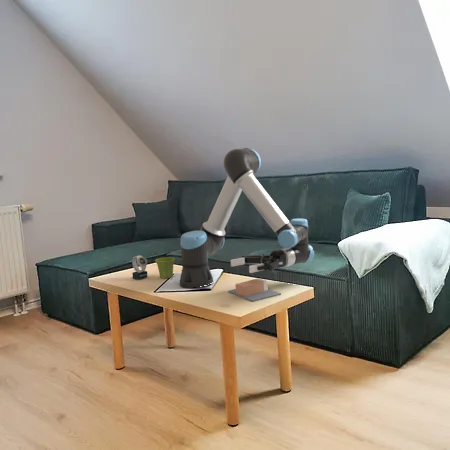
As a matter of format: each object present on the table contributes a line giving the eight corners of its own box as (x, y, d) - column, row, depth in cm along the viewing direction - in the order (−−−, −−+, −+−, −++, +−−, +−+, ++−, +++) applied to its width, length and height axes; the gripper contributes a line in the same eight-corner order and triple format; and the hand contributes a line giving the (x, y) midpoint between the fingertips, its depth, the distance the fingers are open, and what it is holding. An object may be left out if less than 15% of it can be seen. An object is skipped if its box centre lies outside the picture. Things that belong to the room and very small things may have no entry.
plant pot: (152, 277, 243) (151, 260, 241) (168, 273, 249) (166, 256, 248) (164, 280, 236) (163, 262, 235) (180, 276, 243) (178, 258, 241)
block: (235, 284, 206) (257, 278, 213) (236, 293, 206) (258, 287, 213) (244, 286, 201) (267, 280, 208) (245, 296, 202) (267, 290, 209)
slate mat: (228, 291, 211) (228, 290, 211) (255, 285, 218) (255, 284, 218) (252, 301, 196) (252, 300, 196) (281, 294, 203) (281, 293, 203)
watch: (141, 280, 238) (139, 258, 237) (130, 278, 244) (128, 256, 242) (150, 277, 242) (148, 255, 241) (139, 275, 248) (137, 254, 246)
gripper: (301, 272, 203) (258, 281, 192) (264, 261, 224) (224, 269, 213) (300, 254, 202) (257, 262, 191) (264, 245, 223) (223, 252, 212)
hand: (240, 266), depth 202 cm, fingers open, 13 cm apart
